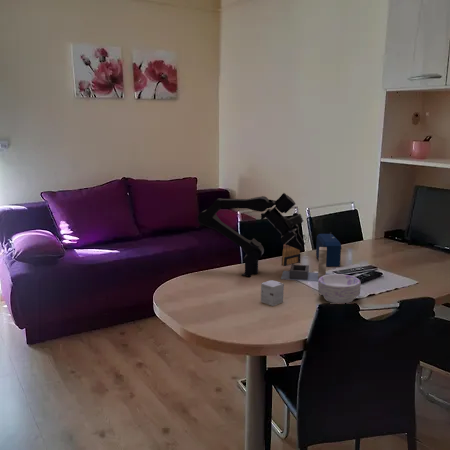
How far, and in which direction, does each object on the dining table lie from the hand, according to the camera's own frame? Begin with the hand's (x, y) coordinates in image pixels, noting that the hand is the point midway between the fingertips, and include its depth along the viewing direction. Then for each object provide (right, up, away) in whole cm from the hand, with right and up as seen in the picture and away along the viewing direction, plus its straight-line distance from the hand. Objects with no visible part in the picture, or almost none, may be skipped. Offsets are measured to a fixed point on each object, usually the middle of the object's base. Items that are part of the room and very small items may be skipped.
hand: (303, 247), depth 195 cm
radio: (+16, -9, +26) cm, 32 cm away
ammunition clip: (-2, -10, +21) cm, 24 cm away
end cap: (-1, -12, +3) cm, 13 cm away
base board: (+3, -13, +2) cm, 14 cm away
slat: (+8, -13, +1) cm, 15 cm away
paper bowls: (+9, -19, -22) cm, 30 cm away
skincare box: (-16, -19, -25) cm, 35 cm away
